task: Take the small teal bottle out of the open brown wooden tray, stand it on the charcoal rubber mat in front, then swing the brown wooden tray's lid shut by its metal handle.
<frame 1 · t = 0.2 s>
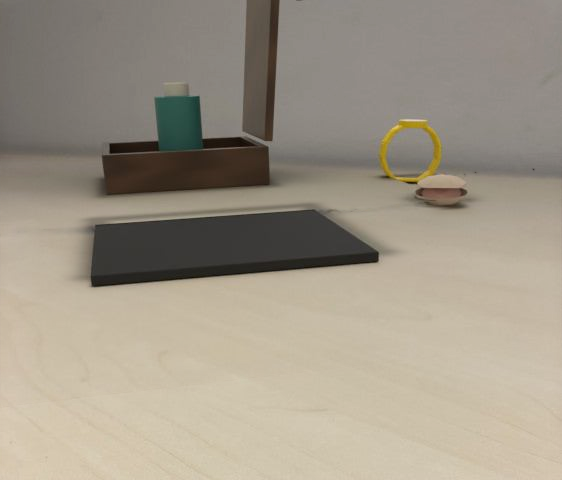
bottle: (183, 180, 72), point 1 cm above the table, touching brown wooden tray
lid: (283, 50, 69), point 13 cm above the table, hinge at 95.0°
macaroon: (440, 206, 60), on the table
brown wooden tray: (184, 187, 72), on the table
mat: (220, 242, 49), on the table
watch: (408, 184, 71), on the table
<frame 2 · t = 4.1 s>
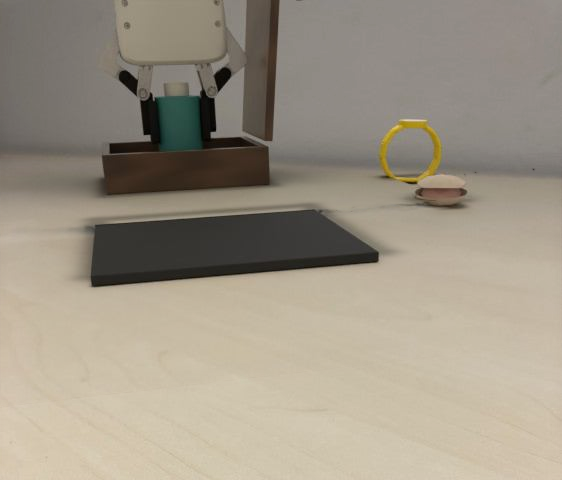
hand: (180, 139, 70), 5 cm above the table, tool pointing down, fingers closed on bottle, 4 cm apart
bottle: (183, 180, 72), point 1 cm above the table, touching brown wooden tray, gripper
everything else where it was.
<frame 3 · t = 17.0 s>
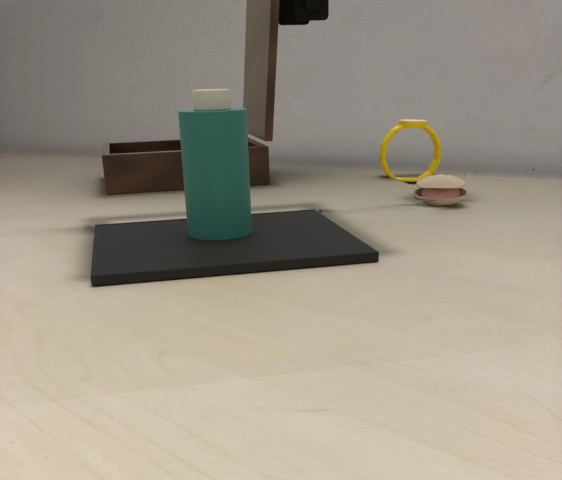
hand: (302, 20, 68), 15 cm above the table, tool pointing down, fingers closed on lid, 6 cm apart
bottle: (220, 233, 48), point 1 cm above the table, touching mat
lid: (283, 50, 69), point 13 cm above the table, hinge at 95.0°, touching gripper
everything else where it was.
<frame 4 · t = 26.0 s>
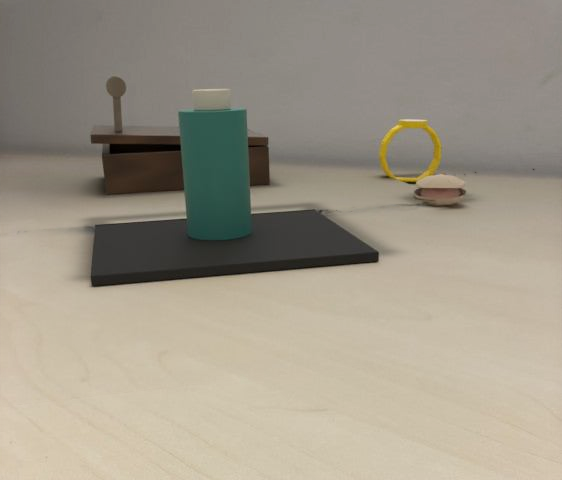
lid: (175, 109, 69), point 8 cm above the table, hinge at 3.4°
everything else where it was.
at the end: bottle inside the target area on the mat (0.0 cm from its centre), point 0.6 cm above the mat's base; bottle tilted 0°; lid at +3° (first picture: +95°) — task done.
